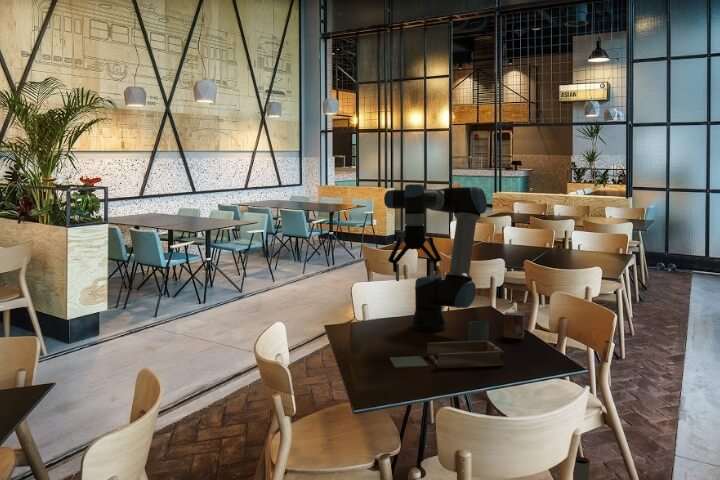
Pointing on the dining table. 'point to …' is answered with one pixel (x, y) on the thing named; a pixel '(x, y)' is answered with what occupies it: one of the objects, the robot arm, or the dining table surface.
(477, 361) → the wooden tray
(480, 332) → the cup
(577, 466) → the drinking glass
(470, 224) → the robot arm
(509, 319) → the small box
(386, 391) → the dining table surface
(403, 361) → the sage tile
